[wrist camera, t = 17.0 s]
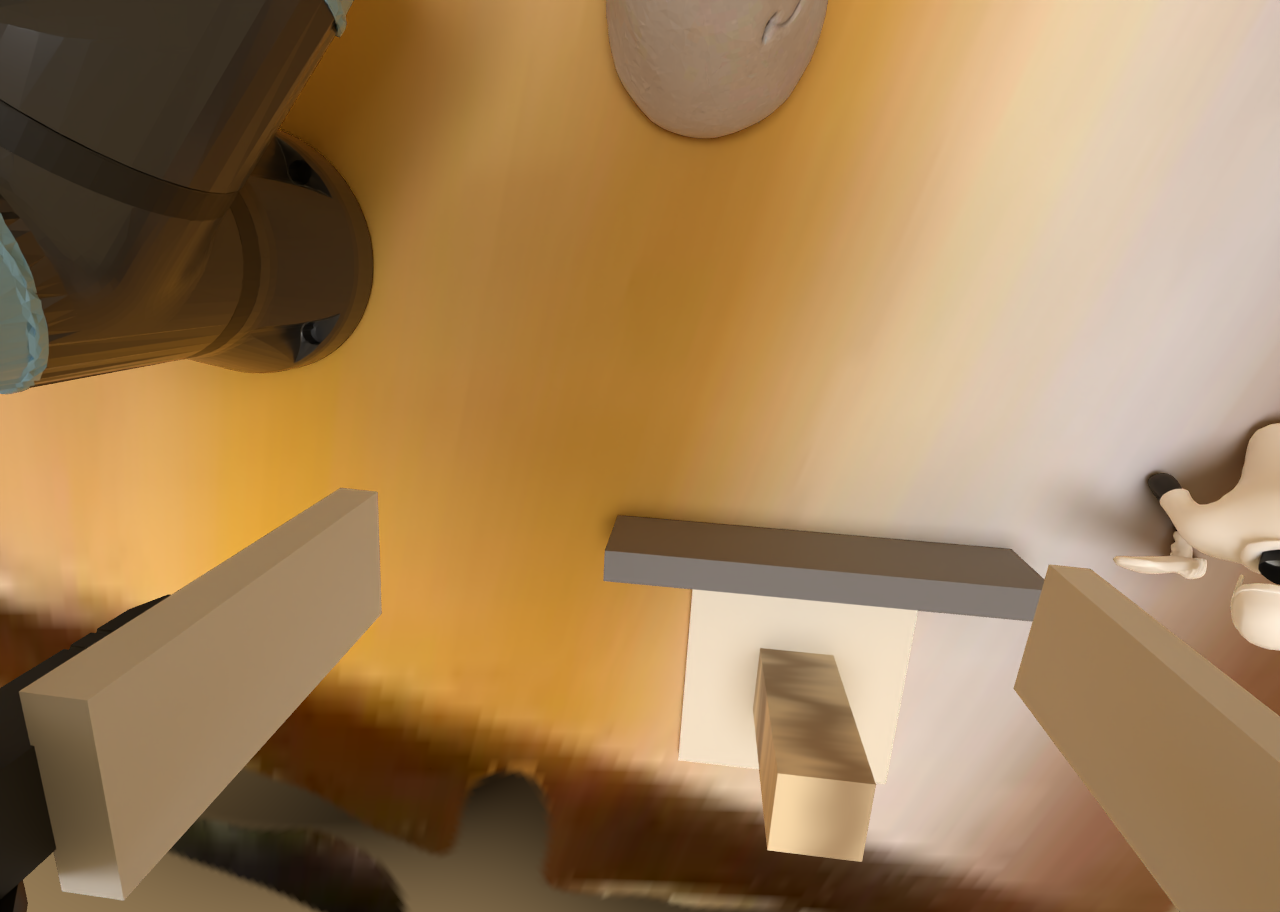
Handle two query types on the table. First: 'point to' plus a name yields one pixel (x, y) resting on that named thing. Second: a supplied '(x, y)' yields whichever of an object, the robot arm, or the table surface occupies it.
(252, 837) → the table surface
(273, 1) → the robot arm
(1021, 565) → the grey plank
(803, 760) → the letter block
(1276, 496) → the cricket player figurine
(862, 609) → the mat
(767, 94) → the sculpture
